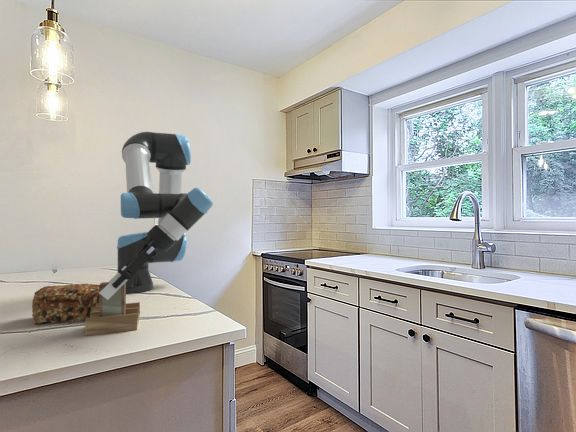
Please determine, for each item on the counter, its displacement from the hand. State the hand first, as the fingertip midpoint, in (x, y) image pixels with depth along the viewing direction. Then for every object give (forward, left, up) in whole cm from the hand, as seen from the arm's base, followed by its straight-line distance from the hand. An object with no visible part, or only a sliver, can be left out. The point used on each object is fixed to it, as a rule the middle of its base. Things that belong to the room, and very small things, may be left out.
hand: (107, 290), depth 91 cm
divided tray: (-4, 0, -10) cm, 11 cm away
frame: (-1, +1, -9) cm, 9 cm away
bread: (-8, -17, -10) cm, 22 cm away
